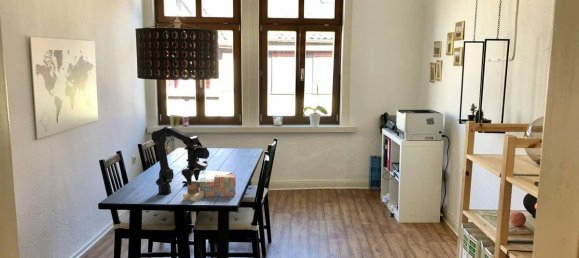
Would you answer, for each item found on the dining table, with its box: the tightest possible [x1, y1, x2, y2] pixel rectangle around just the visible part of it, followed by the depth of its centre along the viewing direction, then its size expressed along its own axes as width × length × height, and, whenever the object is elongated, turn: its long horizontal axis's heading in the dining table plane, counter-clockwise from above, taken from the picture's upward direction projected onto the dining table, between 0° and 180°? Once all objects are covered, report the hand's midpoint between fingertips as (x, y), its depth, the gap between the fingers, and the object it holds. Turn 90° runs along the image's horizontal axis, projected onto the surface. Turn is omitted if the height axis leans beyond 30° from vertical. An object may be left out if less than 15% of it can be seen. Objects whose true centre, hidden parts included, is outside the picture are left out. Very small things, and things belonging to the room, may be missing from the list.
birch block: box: [182, 190, 205, 202], centre depth 271 cm, size 9×9×4 cm
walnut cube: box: [186, 181, 200, 194], centre depth 270 cm, size 5×5×6 cm
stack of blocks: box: [198, 174, 237, 197], centre depth 277 cm, size 21×6×12 cm, turn 90°
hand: (193, 182), depth 269 cm, fingers open, 9 cm apart
